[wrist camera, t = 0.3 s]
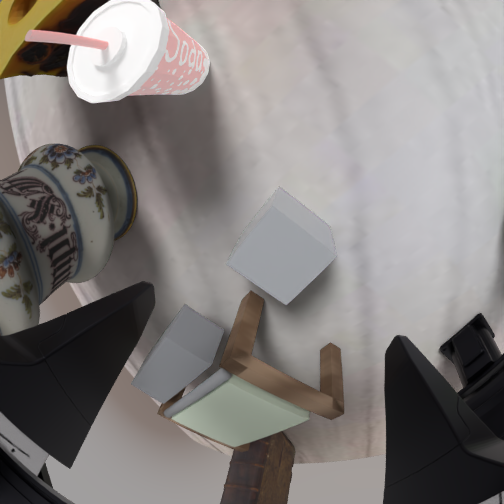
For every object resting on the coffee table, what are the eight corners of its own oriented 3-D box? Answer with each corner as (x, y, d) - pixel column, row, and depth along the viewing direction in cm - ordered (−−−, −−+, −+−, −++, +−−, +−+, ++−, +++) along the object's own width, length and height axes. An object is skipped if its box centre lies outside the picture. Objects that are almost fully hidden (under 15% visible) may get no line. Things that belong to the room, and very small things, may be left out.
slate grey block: (330, 225, 20) (337, 256, 16) (290, 268, 23) (286, 305, 18) (279, 185, 20) (272, 205, 15) (241, 233, 22) (225, 264, 18)
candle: (167, 20, 14) (86, -18, 6) (80, 80, 17) (-5, 86, 9) (143, -43, 10) (80, -80, 2) (66, 13, 13) (-4, 5, 5)
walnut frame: (340, 348, 26) (344, 413, 19) (252, 403, 33) (241, 452, 26) (250, 290, 24) (230, 357, 17) (180, 364, 32) (157, 413, 25)
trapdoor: (312, 374, 23) (310, 418, 19) (241, 413, 29) (233, 447, 25) (188, 299, 21) (163, 341, 17) (144, 360, 27) (125, 392, 23)
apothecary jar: (53, 216, 25) (-62, 301, 9) (73, 116, 19) (-94, 171, 3) (129, 271, 26) (18, 404, 10) (167, 166, 20) (-42, 293, 4)
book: (239, 409, 35) (197, 558, 13) (287, 410, 33) (258, 570, 11) (260, 448, 42) (235, 556, 20) (297, 449, 40) (278, 561, 18)
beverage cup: (204, 112, 18) (52, 120, 6) (138, 97, 18) (-16, 110, 5) (231, 39, 15) (118, -54, 3) (161, 30, 15) (21, -15, 2)
